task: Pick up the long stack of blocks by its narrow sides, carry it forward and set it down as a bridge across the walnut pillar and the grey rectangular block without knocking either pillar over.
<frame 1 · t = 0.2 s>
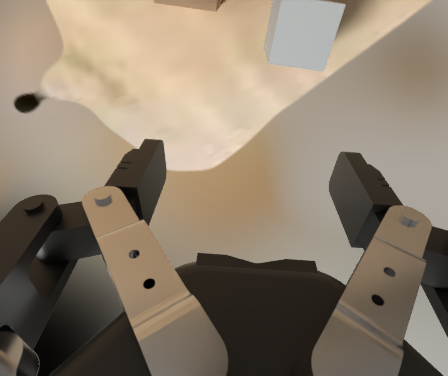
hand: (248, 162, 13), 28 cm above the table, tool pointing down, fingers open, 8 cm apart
grey rectangular block: (292, 24, 33), on the table
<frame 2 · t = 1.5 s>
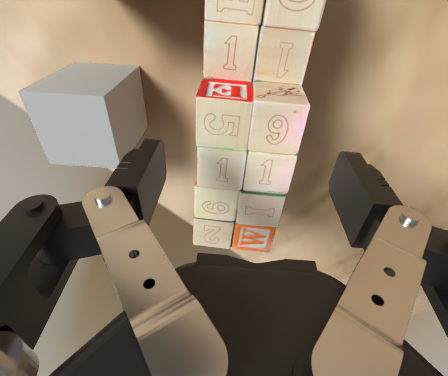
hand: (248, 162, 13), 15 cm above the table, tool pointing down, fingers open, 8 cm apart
grey rectangular block: (114, 96, 27), on the table
stack of blocks: (248, 67, 25), on the table
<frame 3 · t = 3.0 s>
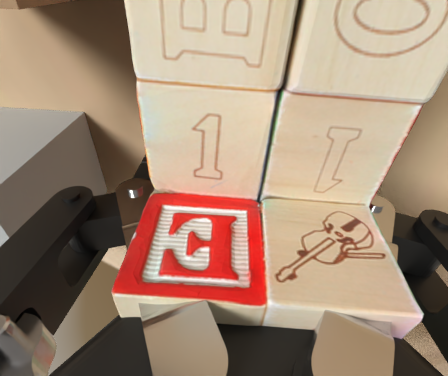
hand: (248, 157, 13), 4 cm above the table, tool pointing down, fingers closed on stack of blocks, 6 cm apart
grey rectangular block: (52, 152, 18), on the table
stack of blocks: (248, 114, 16), on the table, touching gripper
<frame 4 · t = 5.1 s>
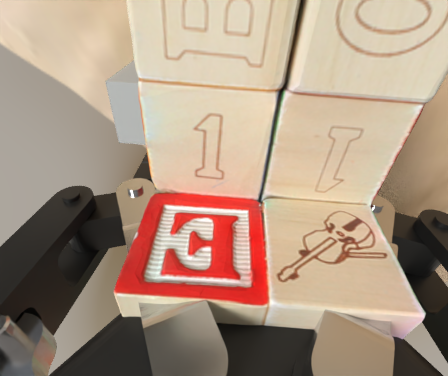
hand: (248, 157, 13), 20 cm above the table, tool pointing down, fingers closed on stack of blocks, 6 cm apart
grey rectangular block: (165, 88, 31), on the table
stack of blocks: (249, 114, 16), point 16 cm above the table, touching gripper
when the fingers open (13 cm above the table, at t = 7.4 s): stack of blocks stays where it is, resting on grey rectangular block, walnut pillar.
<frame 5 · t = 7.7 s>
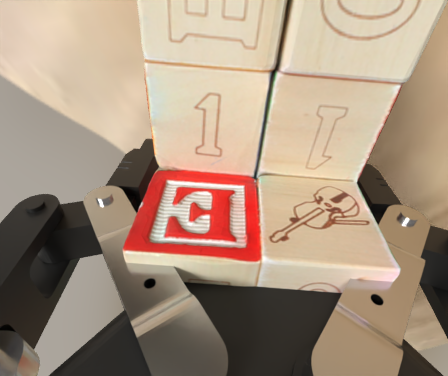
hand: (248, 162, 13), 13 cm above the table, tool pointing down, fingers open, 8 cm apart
stack of blocks: (247, 106, 16), point 8 cm above the table, touching grey rectangular block, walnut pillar
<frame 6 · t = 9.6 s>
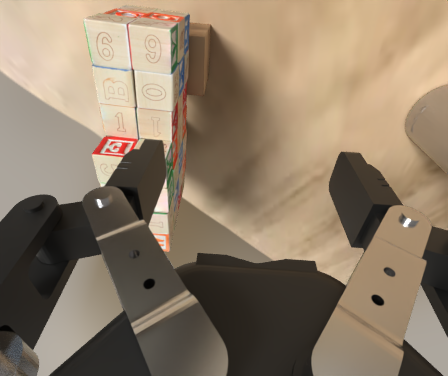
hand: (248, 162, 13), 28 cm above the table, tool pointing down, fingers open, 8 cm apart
stack of blocks: (161, 112, 33), point 8 cm above the table, touching grey rectangular block, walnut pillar
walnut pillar: (186, 48, 35), on the table, touching stack of blocks
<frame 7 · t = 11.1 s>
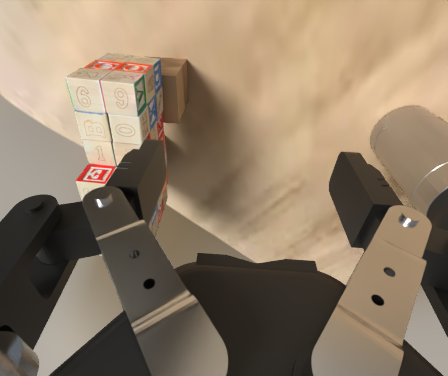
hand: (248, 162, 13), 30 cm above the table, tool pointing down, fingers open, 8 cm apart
stack of blocks: (143, 137, 37), point 8 cm above the table, touching grey rectangular block, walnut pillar
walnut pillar: (167, 79, 40), on the table, touching stack of blocks
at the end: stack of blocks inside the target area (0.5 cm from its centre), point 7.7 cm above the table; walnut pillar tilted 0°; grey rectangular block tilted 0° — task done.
